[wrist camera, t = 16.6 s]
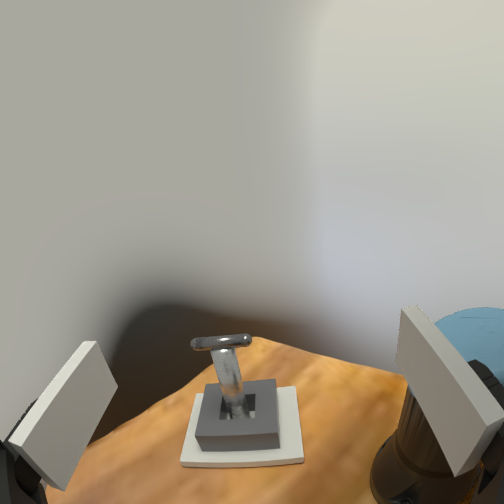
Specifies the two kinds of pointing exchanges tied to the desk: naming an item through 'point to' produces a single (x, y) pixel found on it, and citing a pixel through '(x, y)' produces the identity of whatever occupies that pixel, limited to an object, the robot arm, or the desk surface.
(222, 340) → the chuck key
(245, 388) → the chuck block
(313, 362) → the desk surface
